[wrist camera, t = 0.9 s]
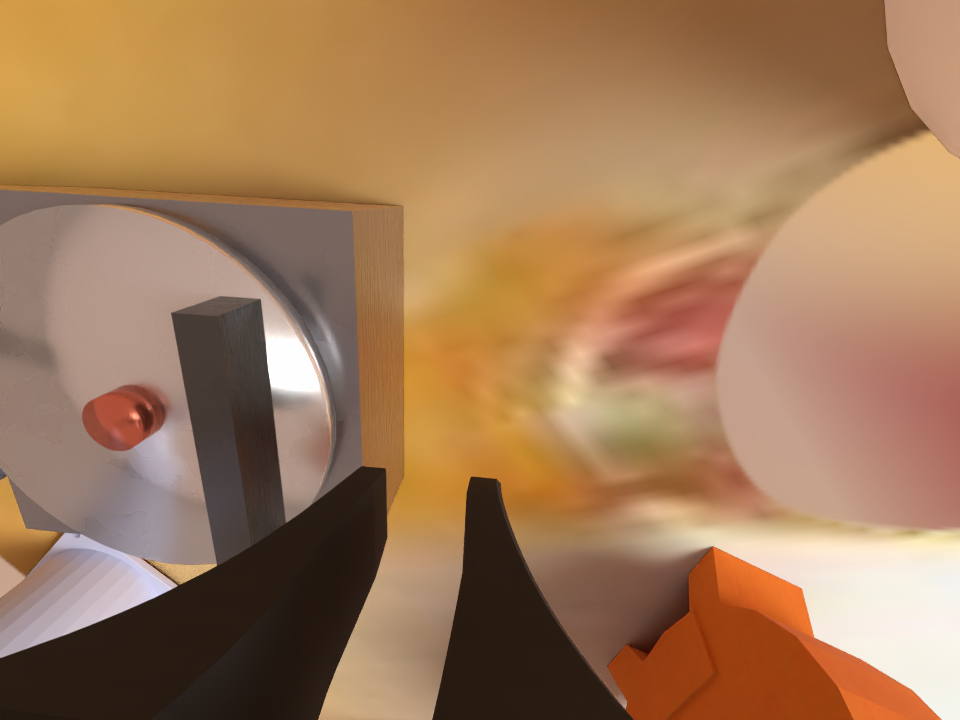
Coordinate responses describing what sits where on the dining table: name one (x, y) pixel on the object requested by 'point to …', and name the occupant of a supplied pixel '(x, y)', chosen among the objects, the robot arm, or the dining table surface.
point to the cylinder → (928, 62)
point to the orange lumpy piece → (753, 659)
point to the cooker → (297, 302)
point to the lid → (155, 384)
